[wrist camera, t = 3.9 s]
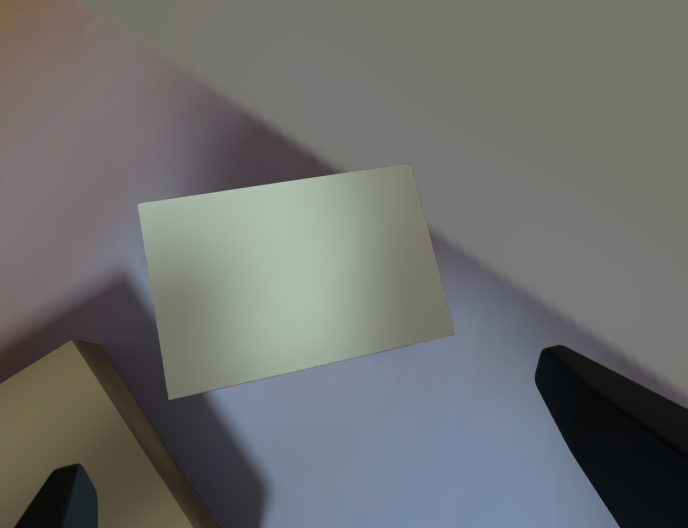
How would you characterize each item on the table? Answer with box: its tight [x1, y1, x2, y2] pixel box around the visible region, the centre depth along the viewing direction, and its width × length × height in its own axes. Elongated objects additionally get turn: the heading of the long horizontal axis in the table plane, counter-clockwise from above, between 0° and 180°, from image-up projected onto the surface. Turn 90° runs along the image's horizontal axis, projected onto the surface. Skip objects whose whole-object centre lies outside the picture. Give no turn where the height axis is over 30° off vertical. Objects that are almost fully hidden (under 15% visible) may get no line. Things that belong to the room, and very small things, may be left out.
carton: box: [138, 163, 455, 400], centre depth 16 cm, size 4×6×10 cm
